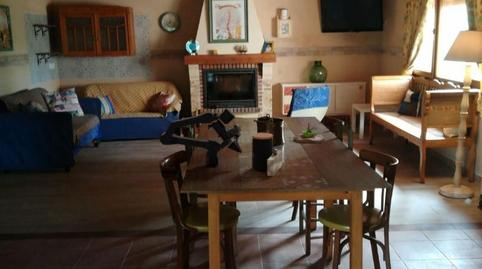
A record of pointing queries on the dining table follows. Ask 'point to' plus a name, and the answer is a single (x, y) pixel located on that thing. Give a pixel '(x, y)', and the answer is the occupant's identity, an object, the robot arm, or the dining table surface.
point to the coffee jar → (261, 151)
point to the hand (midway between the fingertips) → (241, 152)
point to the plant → (309, 136)
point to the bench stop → (274, 162)
